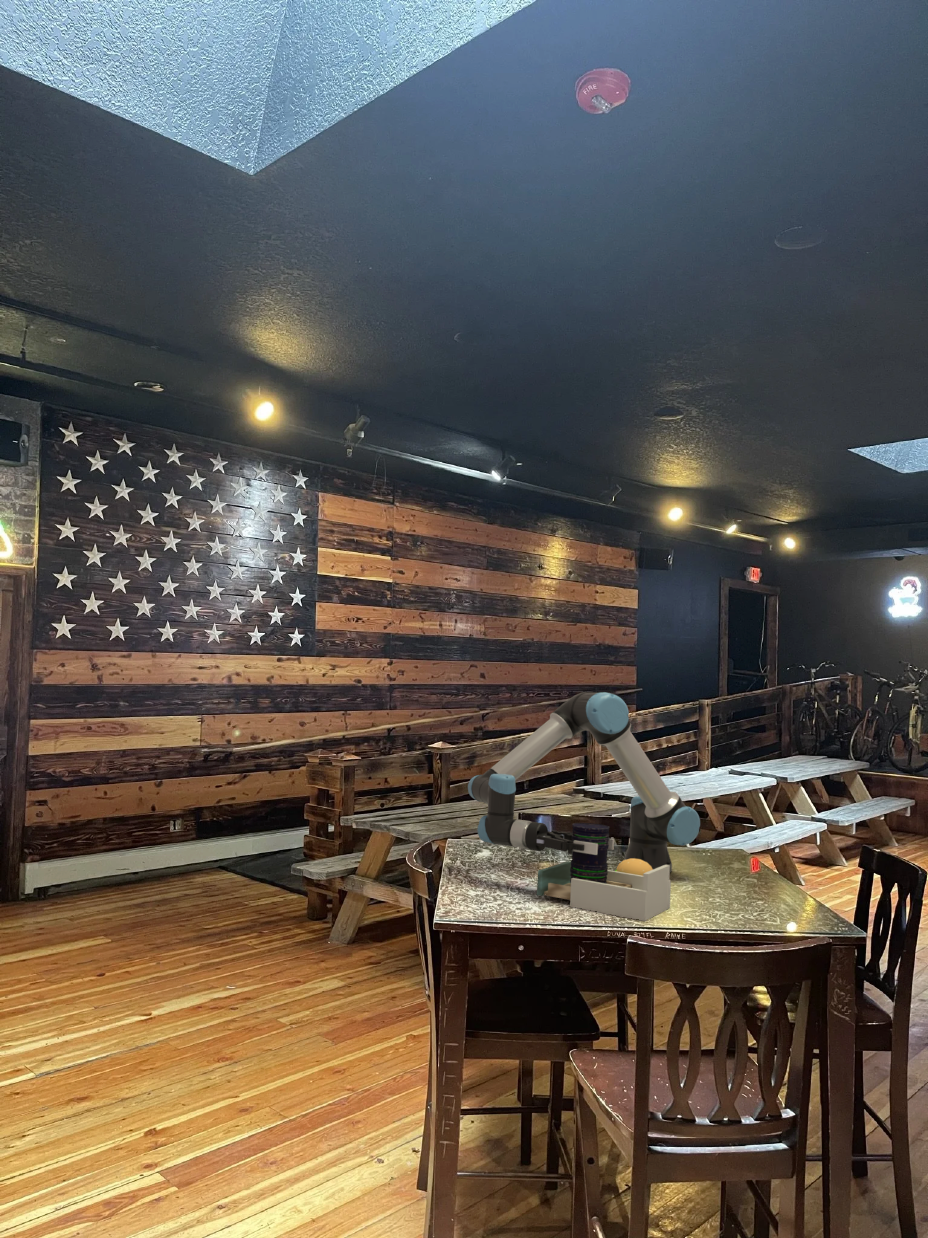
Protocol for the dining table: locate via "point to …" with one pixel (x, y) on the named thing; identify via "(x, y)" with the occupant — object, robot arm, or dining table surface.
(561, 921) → the dining table surface
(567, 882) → the tray
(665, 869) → the dock
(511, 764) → the robot arm
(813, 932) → the dining table surface
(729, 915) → the dining table surface
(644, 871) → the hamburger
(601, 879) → the storage jar
